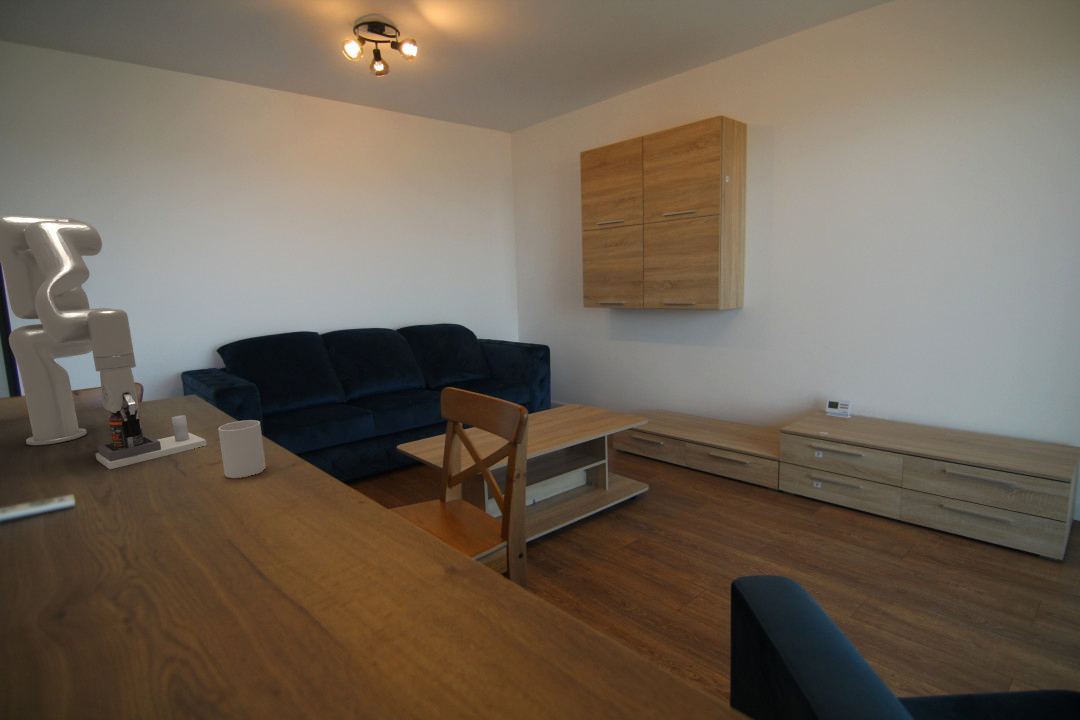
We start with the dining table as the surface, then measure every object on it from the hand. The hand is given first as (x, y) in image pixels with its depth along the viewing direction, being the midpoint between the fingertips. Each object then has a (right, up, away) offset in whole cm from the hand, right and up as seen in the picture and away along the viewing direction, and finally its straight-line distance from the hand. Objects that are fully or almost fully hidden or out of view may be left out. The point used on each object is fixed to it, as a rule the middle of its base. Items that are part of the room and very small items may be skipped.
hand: (127, 433), depth 131 cm
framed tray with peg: (+3, -5, +4) cm, 8 cm away
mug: (+33, -7, -11) cm, 36 cm away
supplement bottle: (0, -5, +1) cm, 5 cm away
